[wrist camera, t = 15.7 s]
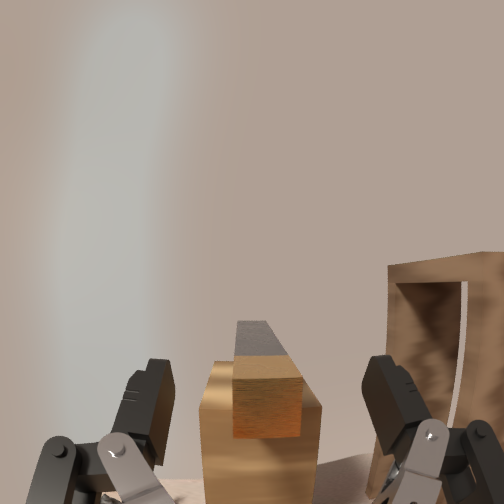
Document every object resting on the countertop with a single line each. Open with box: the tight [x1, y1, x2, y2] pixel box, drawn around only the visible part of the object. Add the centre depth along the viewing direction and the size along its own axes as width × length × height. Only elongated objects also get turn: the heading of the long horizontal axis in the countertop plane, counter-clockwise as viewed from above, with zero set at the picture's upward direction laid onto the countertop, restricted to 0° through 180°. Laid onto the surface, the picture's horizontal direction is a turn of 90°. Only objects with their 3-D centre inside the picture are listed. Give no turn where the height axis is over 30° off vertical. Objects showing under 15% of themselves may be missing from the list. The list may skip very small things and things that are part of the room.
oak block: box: [199, 361, 322, 504], centre depth 24 cm, size 13×8×21 cm, turn 2°
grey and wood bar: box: [232, 321, 303, 439], centre depth 26 cm, size 24×4×4 cm, turn 2°
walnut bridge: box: [365, 252, 504, 504], centre depth 24 cm, size 10×16×31 cm, turn 2°
